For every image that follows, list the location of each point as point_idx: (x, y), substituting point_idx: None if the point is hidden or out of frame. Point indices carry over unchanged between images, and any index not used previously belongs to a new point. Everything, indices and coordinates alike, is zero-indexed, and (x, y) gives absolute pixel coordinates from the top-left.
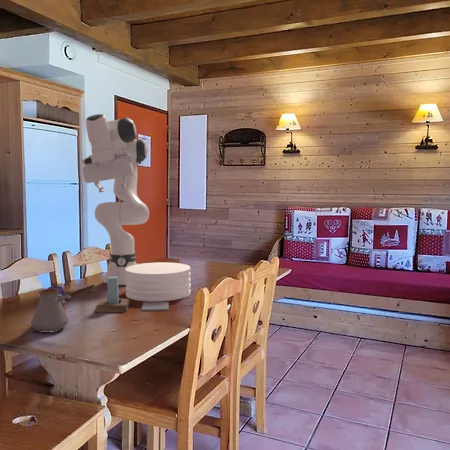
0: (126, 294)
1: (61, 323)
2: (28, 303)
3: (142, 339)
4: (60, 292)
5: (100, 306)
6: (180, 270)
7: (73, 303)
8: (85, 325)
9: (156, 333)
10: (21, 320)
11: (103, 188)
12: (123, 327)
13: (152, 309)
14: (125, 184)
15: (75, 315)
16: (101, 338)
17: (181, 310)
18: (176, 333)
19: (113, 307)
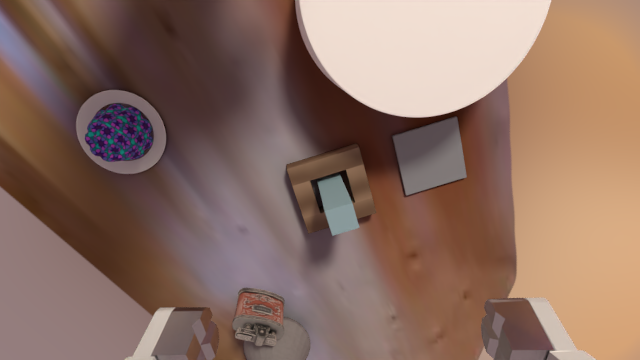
0: (314, 61)
1: (308, 353)
2: (86, 192)
3: (454, 338)
4: (138, 147)
5: (318, 229)
6: (523, 29)
7: (206, 167)
8: (329, 303)
9: (470, 310)
10: (184, 306)
11: (194, 338)
12: (404, 297)
13: (430, 187)
14: (564, 342)
15: (273, 254)
16: (387, 349)
17: (495, 169)
18: None
19: None
